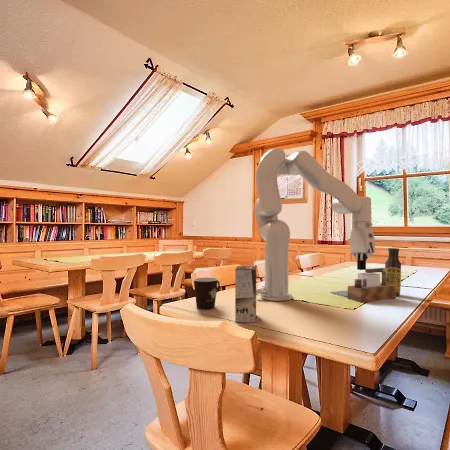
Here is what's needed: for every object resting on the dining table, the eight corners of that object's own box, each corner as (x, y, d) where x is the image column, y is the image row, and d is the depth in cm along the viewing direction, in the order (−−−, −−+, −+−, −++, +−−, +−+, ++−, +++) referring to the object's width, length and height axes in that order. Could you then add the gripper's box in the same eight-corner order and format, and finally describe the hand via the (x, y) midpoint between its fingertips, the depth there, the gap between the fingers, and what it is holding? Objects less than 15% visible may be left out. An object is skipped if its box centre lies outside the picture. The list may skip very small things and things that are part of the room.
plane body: (360, 302, 124) (360, 275, 124) (347, 298, 131) (347, 273, 131) (395, 298, 131) (395, 273, 131) (381, 295, 137) (381, 270, 137)
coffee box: (256, 323, 98) (256, 269, 98) (234, 322, 98) (234, 269, 98) (256, 314, 107) (256, 265, 107) (236, 314, 108) (236, 265, 108)
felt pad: (345, 297, 133) (345, 296, 133) (330, 292, 142) (330, 292, 142) (367, 294, 138) (367, 293, 138) (352, 290, 146) (352, 290, 146)
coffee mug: (199, 311, 111) (199, 282, 111) (190, 306, 118) (190, 278, 118) (229, 307, 116) (229, 279, 116) (218, 302, 124) (218, 276, 124)
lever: (369, 273, 129) (369, 269, 129) (364, 272, 131) (364, 268, 131) (389, 271, 132) (389, 268, 132) (383, 270, 135) (383, 267, 135)
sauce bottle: (384, 295, 136) (384, 248, 136) (383, 292, 142) (383, 247, 142) (402, 297, 134) (402, 248, 134) (400, 294, 140) (400, 247, 140)
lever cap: (366, 287, 127) (366, 275, 127) (357, 285, 131) (357, 273, 131) (380, 286, 130) (380, 274, 130) (371, 284, 134) (371, 272, 134)
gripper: (382, 226, 132) (382, 271, 132) (355, 226, 146) (355, 267, 145) (368, 226, 129) (368, 272, 129) (341, 226, 143) (341, 267, 143)
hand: (361, 269), depth 137 cm, fingers closed
